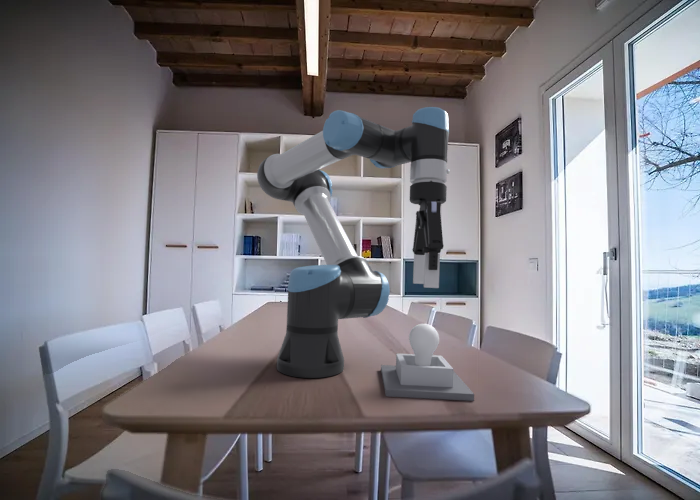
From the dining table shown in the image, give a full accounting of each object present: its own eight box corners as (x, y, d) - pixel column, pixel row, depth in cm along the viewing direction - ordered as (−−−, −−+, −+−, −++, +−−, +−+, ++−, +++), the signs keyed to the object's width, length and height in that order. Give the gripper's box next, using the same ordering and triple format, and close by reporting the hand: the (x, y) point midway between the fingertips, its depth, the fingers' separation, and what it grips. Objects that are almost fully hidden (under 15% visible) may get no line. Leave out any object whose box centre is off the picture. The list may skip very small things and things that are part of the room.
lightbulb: (438, 384, 69) (440, 327, 69) (406, 380, 70) (409, 325, 70) (436, 374, 75) (439, 322, 75) (407, 371, 76) (410, 320, 76)
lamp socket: (385, 396, 65) (386, 370, 65) (380, 370, 81) (381, 349, 81) (474, 400, 64) (474, 374, 64) (451, 373, 80) (452, 352, 80)
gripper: (463, 168, 62) (459, 290, 61) (433, 196, 86) (430, 283, 86) (420, 167, 62) (415, 288, 61) (403, 195, 87) (399, 281, 86)
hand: (424, 285), depth 73 cm, fingers open, 13 cm apart
